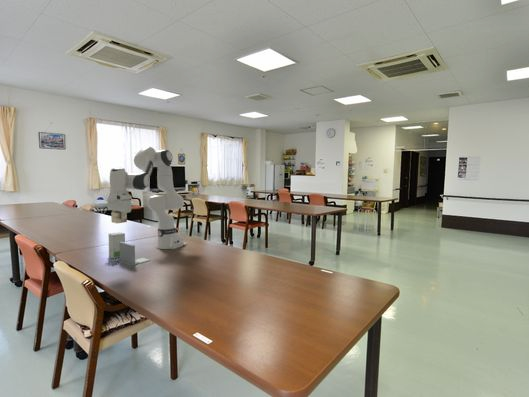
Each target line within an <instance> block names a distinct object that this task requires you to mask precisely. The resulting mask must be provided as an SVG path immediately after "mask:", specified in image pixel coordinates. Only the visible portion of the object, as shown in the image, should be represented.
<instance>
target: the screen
mask: <svg viewBox="0 0 529 397" xmlns="http://www.w3.org/2000/svg"><path fill="white" fill-rule="evenodd" d="M119 244H120V257H119V259H116V262H117V263H118V262H119V263H121V264H124V265H127V266H129V267H132V266H136V265H138V264H139V263H138V262H135V260H136V249H135V248H136V245H134V244H131V243H128V242H126V241H125V242H119Z"/></svg>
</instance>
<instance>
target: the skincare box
mask: <svg viewBox="0 0 529 397" xmlns="http://www.w3.org/2000/svg"><path fill="white" fill-rule="evenodd" d="M119 242H125V243H126V233H125V232H121V231H119V232H112V233H108V257H109V258H111V259H118V258H120V244H119Z"/></svg>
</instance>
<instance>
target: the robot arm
mask: <svg viewBox="0 0 529 397" xmlns="http://www.w3.org/2000/svg"><path fill="white" fill-rule="evenodd" d="M172 162H173V154H172V152H171V151H170V150H169V149H160V150H155V148H153V147H151V146H144V147H142V148H141V149H140V150H139V151H138V152H137V153H136V154H135V156H134V158H133V163H134V166H136V167H137V169H139V170H142V171H141V172H139V173H133V172H132V173H131V172H127V171H126V169H125V168H123V167H114V168H111V169H110V171H109V185H110V189H109V196H108V198H107V206H106V207H107V209H108V210H110V211H111V212H117V211H119V212H121V214H122V215H121V219H122V220H123V219H125V215H126V213H127V214H128V213H131V212H132V199H133V198H132V197H133V196H132V194H129V193H128V190H139V191H143V190H145V189H146V188H147V187H148V186H149V181H150V178H151V176H152V173H153V170H154V168H156V169H157V171H156V172H157V176H156V180H157V184H156V185H157V188H158V190H160V191H161V192H163V193H165V194H163V195H162V194H161V195H160V194H157V195H152V196H149V197H148V198H147V201H146V205H147V207H148V208H149V210H151V211H152V212H154V214H155V216H156V218H157V224H158V226H157V227H158V228H157V235H158V236H157V243H156V249H160V250H168V249H171V250H172V249H173V250H175V249H178V248H181V247H184V246H186V245H187V242H185V241H184V237H183V236H182V235H181V234H180V233H178V232H177V231H179V228H178V227H175V218H174V217H173V216H172V215H171V214H168V213H167V212H166V211H168V210H169V211H171V210H172V211H174V210H180V209H182V208H183V206H184V204H185V200H184V197H183V196H182V195H180V194H179V193H178V192H177V191H176V190H175V186H174V179H173V177H174V176H173V170H172V166H171V165H172ZM183 245H184V246H183Z"/></svg>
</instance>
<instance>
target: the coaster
mask: <svg viewBox="0 0 529 397" xmlns="http://www.w3.org/2000/svg"><path fill="white" fill-rule="evenodd" d="M135 262H138V264H142V263H146V262H150V259H149V258H145V257H141V258H137V259H135Z"/></svg>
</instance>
